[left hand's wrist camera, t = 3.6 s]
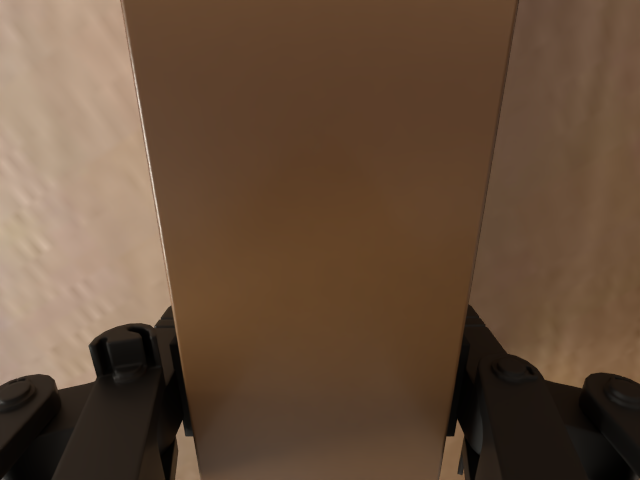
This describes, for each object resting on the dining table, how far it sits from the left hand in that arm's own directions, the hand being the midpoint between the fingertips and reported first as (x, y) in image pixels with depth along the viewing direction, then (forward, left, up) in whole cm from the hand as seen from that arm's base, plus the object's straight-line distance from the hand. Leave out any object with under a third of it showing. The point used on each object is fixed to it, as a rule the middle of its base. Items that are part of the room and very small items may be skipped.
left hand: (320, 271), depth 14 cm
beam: (+24, 0, -1) cm, 24 cm away
